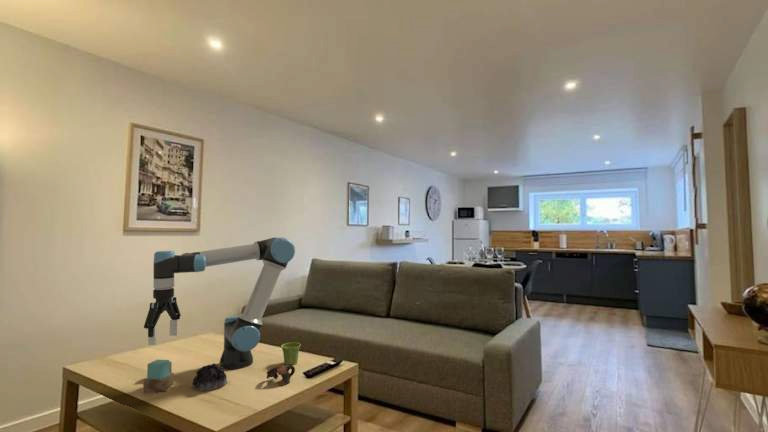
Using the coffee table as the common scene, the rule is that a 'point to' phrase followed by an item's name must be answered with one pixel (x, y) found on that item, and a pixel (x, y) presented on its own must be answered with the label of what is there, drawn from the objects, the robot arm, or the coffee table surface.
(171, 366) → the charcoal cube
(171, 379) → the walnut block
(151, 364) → the teal cube
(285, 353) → the plant pot
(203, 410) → the coffee table surface
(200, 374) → the crystal cluster
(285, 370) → the brown animal figurine
